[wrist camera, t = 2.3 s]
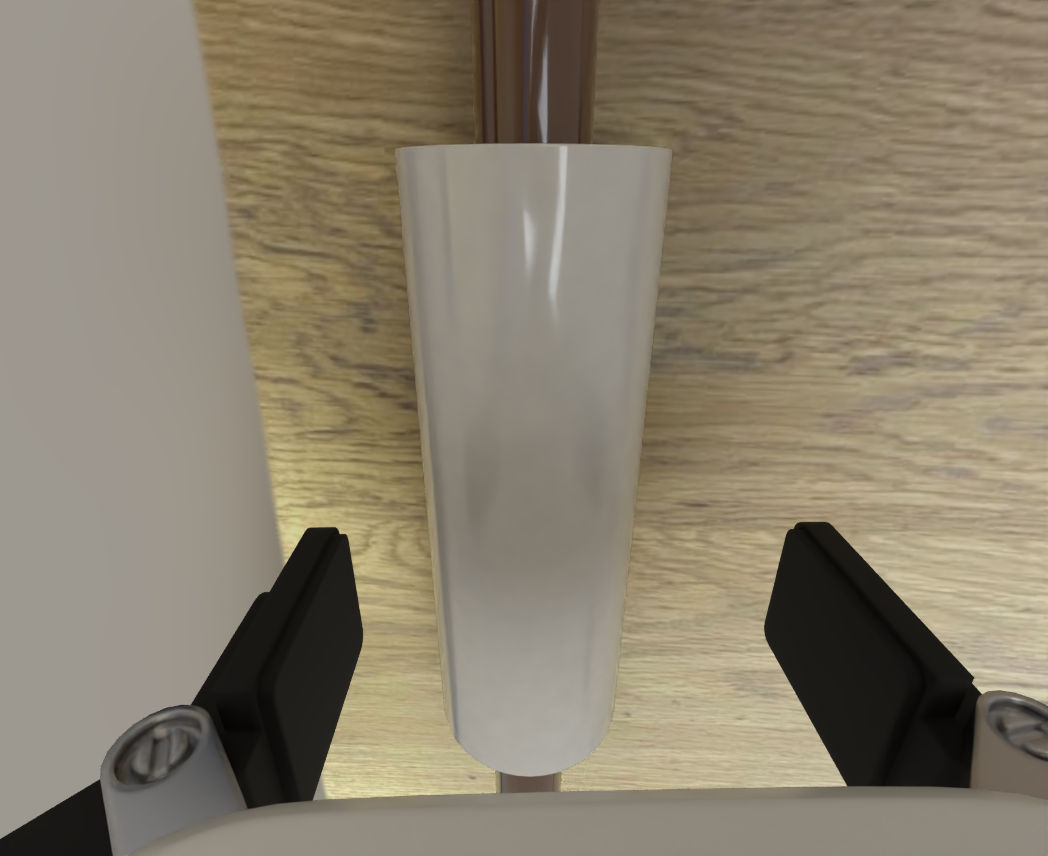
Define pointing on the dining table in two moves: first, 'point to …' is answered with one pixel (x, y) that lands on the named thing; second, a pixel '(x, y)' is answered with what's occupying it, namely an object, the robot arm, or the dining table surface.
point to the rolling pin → (531, 387)
